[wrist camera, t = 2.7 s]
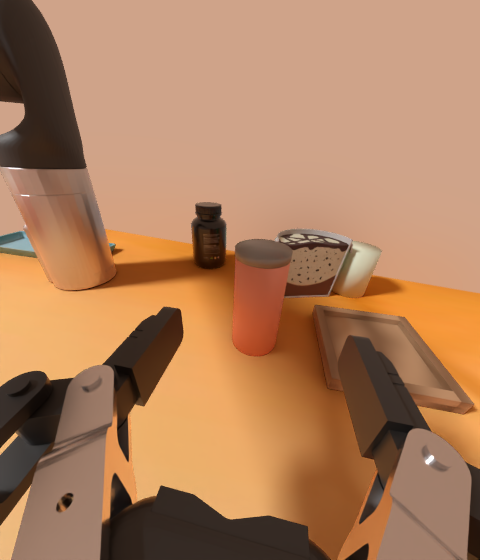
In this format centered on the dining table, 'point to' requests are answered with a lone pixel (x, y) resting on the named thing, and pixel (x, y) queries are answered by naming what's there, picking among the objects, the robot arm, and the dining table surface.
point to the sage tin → (357, 270)
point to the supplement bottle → (209, 236)
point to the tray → (389, 355)
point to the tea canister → (259, 294)
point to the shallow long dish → (21, 244)
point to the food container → (313, 261)
